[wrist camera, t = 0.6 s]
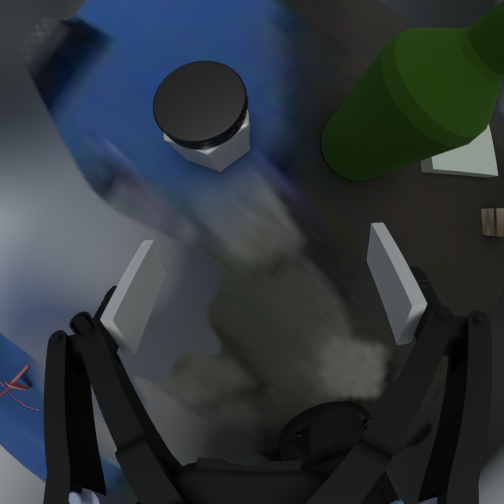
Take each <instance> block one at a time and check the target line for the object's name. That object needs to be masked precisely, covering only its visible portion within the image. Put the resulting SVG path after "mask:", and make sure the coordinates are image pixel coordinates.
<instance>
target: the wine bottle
mask: <svg viewBox="0 0 504 504" xmlns="http://www.w3.org/2000/svg"><path fill="white" fill-rule="evenodd" d="M503 78H504V0H503V1H502V2H501V3H499V4H498V5H497V6H496V7H494V8H493V9H492V10H491V11H489V12H488V13H487V14H485V15H484V16H483V17H482V18H480V19H479V20H478V21H477V22H476V23H474V24H473V25H472V26H471V27H469V28H464V29H459V28H412V29H409V30H406V31H404V32H402V33H400V34H399V35H397V36H396V37H394V38H392V39H391V40H390V41H389V42H388V43H387V44H386V45H385V46H384V48H383V49H382V50H381V52H380V53H379V54H378V56H377V57H376V58H375V60H374V61H373V62H372V64H371V65H370V66H369V68H368V69H367V70H366V72H365V73H364V74H363V76H362V77H361V78H360V80H359V81H358V83H357V84H356V85H355V87H354V88H353V89H352V91H351V92H350V93H349V95H348V96H347V97H346V99H345V100H344V102H343V103H342V104H341V106H340V107H339V108H338V110H337V111H336V112H335V114H334V115H333V117H332V118H331V119H330V121H329V122H328V123H327V125H326V126H325V128H324V130H323V133H322V137H321V148H322V153H323V155H324V158H325V161H326V162H327V163H328V165H329V166H330V168H331V169H332V170H333V171H335V172H336V173H337V174H338V175H340V176H341V177H343V178H345V179H347V180H351V181H355V182H356V181H367V180H370V179H373V178H375V177H378V176H381V175H383V174H386V173H389V172H392V171H394V170H397V169H400V168H403V167H405V166H408V165H411V164H414V163H416V162H419V161H422V160H425V159H428V158H430V157H433V156H436V155H439V154H442V153H445V152H447V151H450V150H453V149H456V148H459V147H462V146H465V145H468V144H469V143H470V142H472V141H473V140H474V139H475V138H476V137H478V136H479V135H480V134H481V133H482V132H483V131H485V130H486V128H487V126H488V124H489V122H490V119H491V116H492V113H493V110H494V107H495V104H496V100H497V97H498V93H499V89H500V86H501V83H502V80H503Z"/></svg>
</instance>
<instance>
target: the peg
mask: <svg viewBox="0 0 504 504" xmlns="http://www.w3.org/2000/svg"><path fill="white" fill-rule="evenodd" d="M481 211H482V235H490V236H502V237H504V208H493V209H481Z"/></svg>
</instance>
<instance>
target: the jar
mask: <svg viewBox="0 0 504 504" xmlns="http://www.w3.org/2000/svg"><path fill="white" fill-rule="evenodd" d="M153 114H154V118H155V121H156V123H157V125H158V126H159V128H160V129H161V130H162V131H163V132H164V139H165V141H167V142H168V143H169V144H170V145H171V146H172V147H173V148H174V149H175V150H176V151H177V152H179V153H180V154H181V155H182V156H183V157H184V158H185V159H186V160H188V161H190V162H193V163H196V164H199V165H201V166H204V167H207V168H210V169H212V170H215V171H218V172H222V171H223V170H224V169H225V168H227V167H228V166H229V165H231V164H232V163H233V162H235V161H236V160H237V159H239V158H240V157H241V156H243V155H244V154H246V153H247V152H248V151H250V134H249V131H250V123H249V116H248V95H247V91H246V88H245V85H244V83H243V81H242V79H241V77H240V76H239V75H238V74H237V73H236V72H235V71H234V70H233V69H231V68H230V67H228V66H226V65H224V64H222V63H218V62H214V61H197V62H192V63H189V64H186V65H183V66H181V67H179V68H177V69H176V70H174V71H173V72H172V73H170V74H169V75H168V76H167V77H166V78H165V79H164V80H163V81H162V83H161V84H160V85H159V87H158V89H157V91H156V93H155V96H154V100H153Z"/></svg>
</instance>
